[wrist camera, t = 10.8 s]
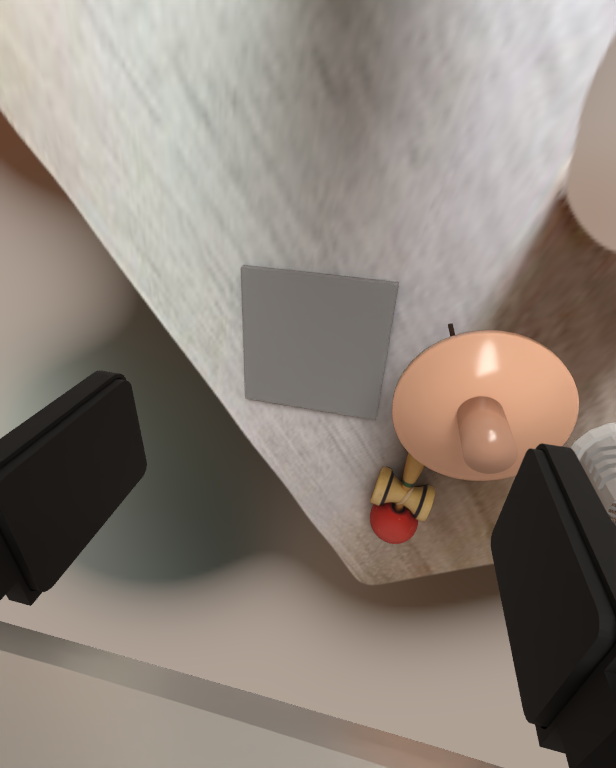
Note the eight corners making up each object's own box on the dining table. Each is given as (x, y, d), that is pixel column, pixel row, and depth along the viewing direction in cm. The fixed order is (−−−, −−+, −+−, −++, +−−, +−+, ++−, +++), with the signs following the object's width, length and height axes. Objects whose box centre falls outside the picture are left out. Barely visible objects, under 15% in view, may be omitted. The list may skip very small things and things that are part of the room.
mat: (244, 265, 43) (240, 267, 42) (398, 282, 40) (398, 285, 39) (247, 394, 51) (245, 398, 50) (376, 415, 48) (375, 420, 47)
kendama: (390, 399, 48) (355, 515, 56) (401, 425, 43) (360, 551, 50) (453, 410, 49) (410, 524, 56) (472, 438, 43) (421, 560, 50)
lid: (407, 319, 32) (406, 352, 26) (605, 343, 29) (645, 384, 24) (382, 458, 39) (377, 504, 34) (539, 485, 36) (560, 540, 31)
